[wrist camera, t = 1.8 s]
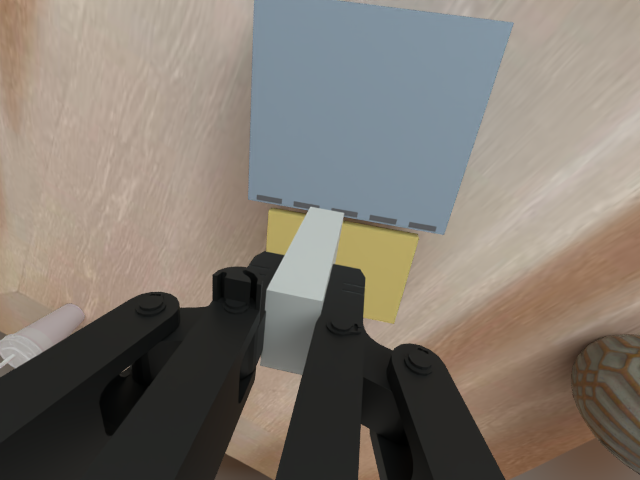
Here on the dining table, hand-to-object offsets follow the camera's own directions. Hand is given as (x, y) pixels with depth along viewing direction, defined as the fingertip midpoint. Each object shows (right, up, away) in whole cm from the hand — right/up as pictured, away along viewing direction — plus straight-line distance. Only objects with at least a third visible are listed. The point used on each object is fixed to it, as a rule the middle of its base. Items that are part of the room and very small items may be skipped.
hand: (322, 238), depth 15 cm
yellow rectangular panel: (+1, -3, +19) cm, 20 cm away
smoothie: (-40, -12, +41) cm, 59 cm away
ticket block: (+4, +13, +20) cm, 24 cm away
